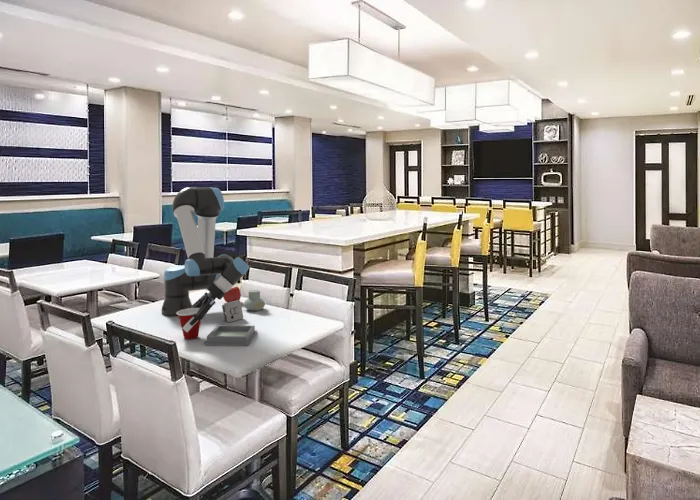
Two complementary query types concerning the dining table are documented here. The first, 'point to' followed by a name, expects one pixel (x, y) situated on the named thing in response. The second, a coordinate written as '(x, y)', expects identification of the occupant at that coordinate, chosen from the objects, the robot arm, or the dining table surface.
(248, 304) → the air freshener
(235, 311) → the electrical switch
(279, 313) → the dining table surface
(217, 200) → the robot arm
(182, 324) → the plastic cup
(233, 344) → the pocket tray
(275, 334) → the dining table surface
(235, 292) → the vegetable
